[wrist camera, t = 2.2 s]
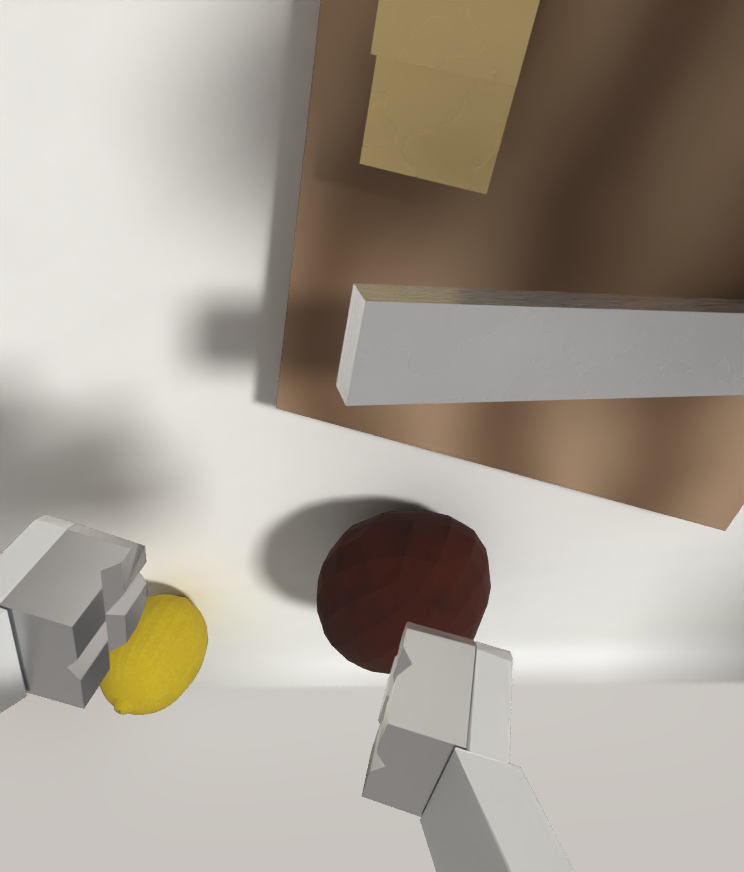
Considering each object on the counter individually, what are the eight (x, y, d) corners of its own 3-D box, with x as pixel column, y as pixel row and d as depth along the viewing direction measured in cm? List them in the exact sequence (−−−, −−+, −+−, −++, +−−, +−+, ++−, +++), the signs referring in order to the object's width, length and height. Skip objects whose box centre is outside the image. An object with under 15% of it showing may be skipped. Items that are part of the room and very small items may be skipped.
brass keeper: (551, -44, 18) (554, -53, 15) (491, 178, 21) (484, 201, 19) (413, -74, 18) (392, -88, 16) (374, 150, 22) (352, 169, 19)
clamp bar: (816, 302, 22) (841, 316, 21) (769, 378, 23) (790, 393, 23) (353, 283, 16) (365, 301, 15) (336, 385, 18) (345, 406, 17)
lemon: (153, 554, 39) (76, 663, 32) (236, 591, 39) (177, 707, 33) (138, 606, 42) (65, 715, 36) (216, 640, 42) (158, 755, 36)
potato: (305, 531, 35) (255, 644, 29) (424, 441, 30) (395, 553, 24) (409, 616, 37) (384, 739, 31) (536, 544, 32) (536, 673, 26)
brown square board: (1015, 39, 19) (1061, 42, 17) (714, 501, 29) (725, 530, 27) (349, -103, 20) (333, -113, 18) (289, 386, 30) (275, 408, 29)
